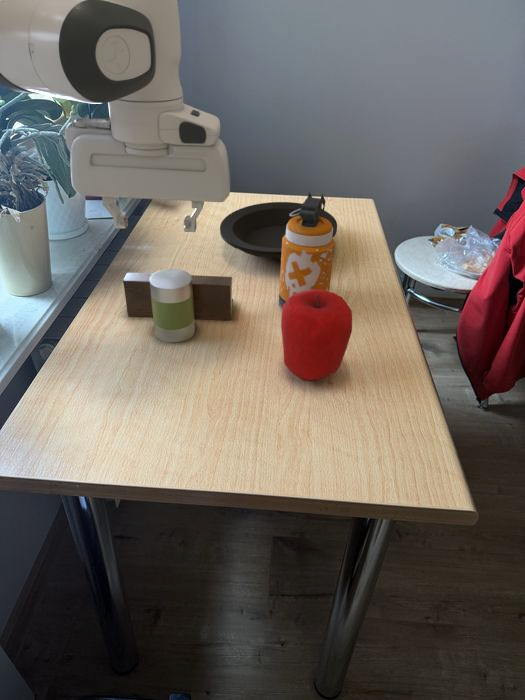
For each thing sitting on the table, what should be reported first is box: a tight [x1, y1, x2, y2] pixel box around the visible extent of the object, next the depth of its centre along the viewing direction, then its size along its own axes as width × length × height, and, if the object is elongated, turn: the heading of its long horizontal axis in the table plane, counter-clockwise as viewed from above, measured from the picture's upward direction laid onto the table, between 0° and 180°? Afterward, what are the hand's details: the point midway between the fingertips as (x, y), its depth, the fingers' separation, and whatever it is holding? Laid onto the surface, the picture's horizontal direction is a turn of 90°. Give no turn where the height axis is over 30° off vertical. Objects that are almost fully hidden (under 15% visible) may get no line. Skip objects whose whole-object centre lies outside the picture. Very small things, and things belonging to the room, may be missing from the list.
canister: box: [278, 192, 336, 308], centre depth 92 cm, size 9×11×20 cm
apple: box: [280, 289, 353, 381], centre depth 77 cm, size 10×10×14 cm
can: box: [150, 268, 196, 344], centre depth 86 cm, size 7×7×10 cm
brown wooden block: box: [122, 272, 234, 321], centre depth 93 cm, size 18×6×7 cm, turn 88°
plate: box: [219, 201, 338, 260], centre depth 115 cm, size 28×24×6 cm
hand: (156, 228), depth 72 cm, fingers open, 8 cm apart
